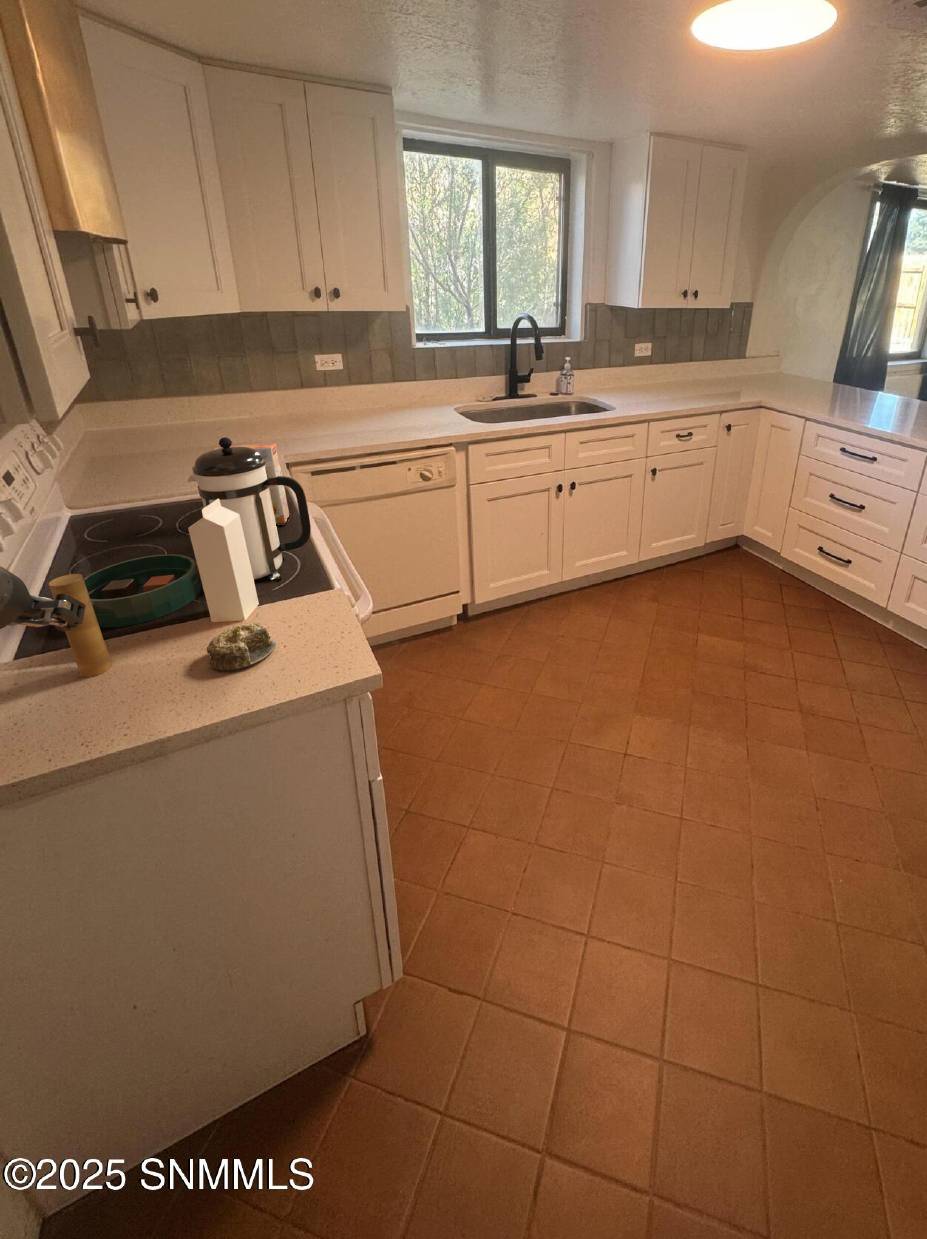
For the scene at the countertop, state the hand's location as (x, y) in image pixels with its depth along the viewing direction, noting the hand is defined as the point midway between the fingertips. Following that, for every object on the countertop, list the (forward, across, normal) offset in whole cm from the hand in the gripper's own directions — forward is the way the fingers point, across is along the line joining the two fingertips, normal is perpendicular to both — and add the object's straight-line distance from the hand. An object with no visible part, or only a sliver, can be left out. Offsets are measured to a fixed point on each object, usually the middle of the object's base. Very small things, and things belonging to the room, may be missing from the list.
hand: (32, 625), depth 77 cm
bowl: (+34, -3, -12) cm, 36 cm away
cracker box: (+60, -19, -38) cm, 74 cm away
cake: (+13, -24, +3) cm, 27 cm away
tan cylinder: (+18, -2, +3) cm, 19 cm away
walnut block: (+35, 0, -12) cm, 37 cm away
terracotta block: (+33, -7, -12) cm, 36 cm away
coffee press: (+36, -23, -18) cm, 47 cm away
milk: (+24, -21, -6) cm, 32 cm away
